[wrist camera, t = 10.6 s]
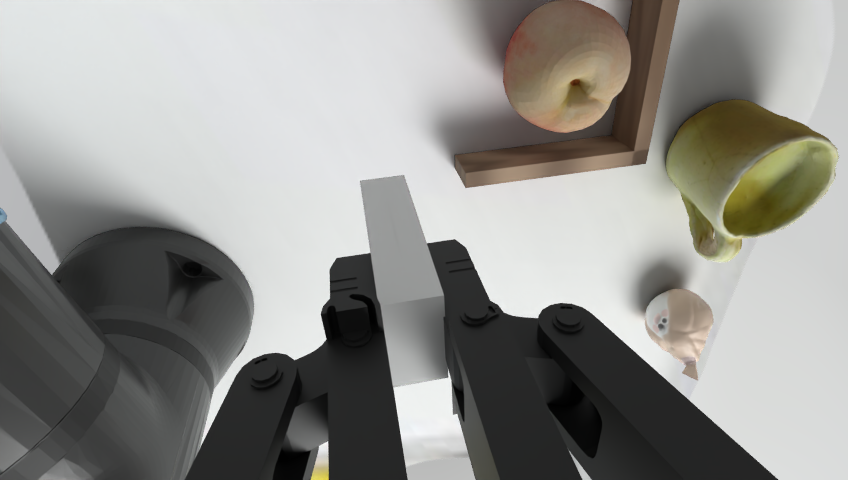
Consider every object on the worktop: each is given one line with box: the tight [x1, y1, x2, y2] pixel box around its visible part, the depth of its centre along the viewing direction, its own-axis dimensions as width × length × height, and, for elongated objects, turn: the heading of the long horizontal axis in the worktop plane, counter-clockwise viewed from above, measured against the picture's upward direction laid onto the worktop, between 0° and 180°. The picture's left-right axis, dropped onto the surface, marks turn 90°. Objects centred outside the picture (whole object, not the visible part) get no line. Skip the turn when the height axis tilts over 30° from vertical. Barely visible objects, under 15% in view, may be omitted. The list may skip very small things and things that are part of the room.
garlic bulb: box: [645, 289, 713, 380], centre depth 48 cm, size 7×6×8 cm
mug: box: [666, 99, 838, 262], centre depth 39 cm, size 12×10×10 cm
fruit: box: [503, 0, 631, 133], centre depth 32 cm, size 8×8×8 cm
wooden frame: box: [455, 0, 679, 188], centre depth 34 cm, size 14×16×4 cm
